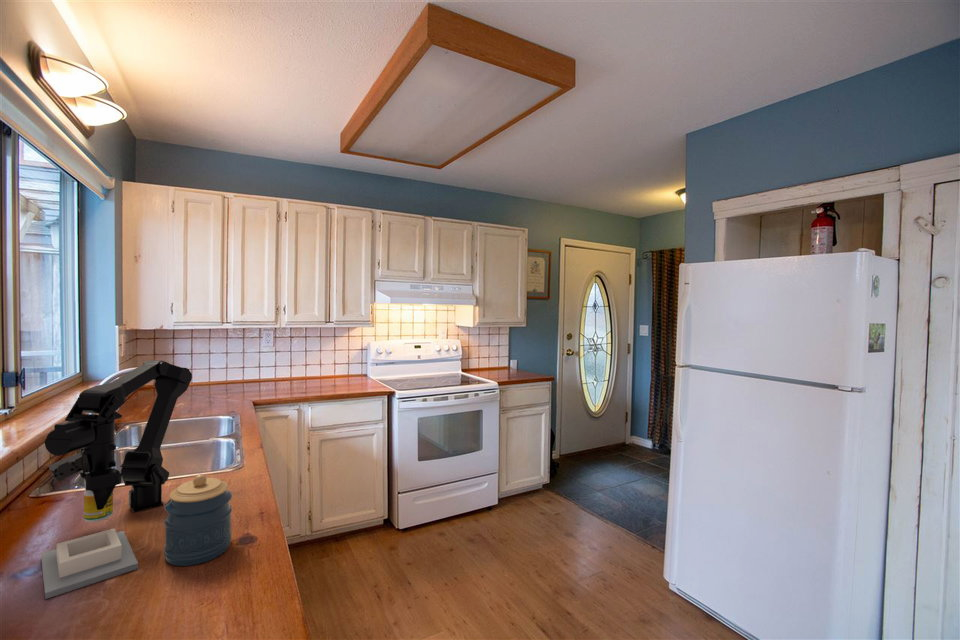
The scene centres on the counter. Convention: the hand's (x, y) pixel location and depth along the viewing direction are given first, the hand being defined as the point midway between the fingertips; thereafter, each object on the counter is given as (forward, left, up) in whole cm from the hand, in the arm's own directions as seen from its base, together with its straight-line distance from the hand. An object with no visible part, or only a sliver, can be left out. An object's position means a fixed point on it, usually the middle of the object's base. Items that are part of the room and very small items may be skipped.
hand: (98, 505), depth 106 cm
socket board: (+3, +14, -7) cm, 16 cm away
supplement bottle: (0, 0, -3) cm, 3 cm away
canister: (-15, +24, -7) cm, 29 cm away
